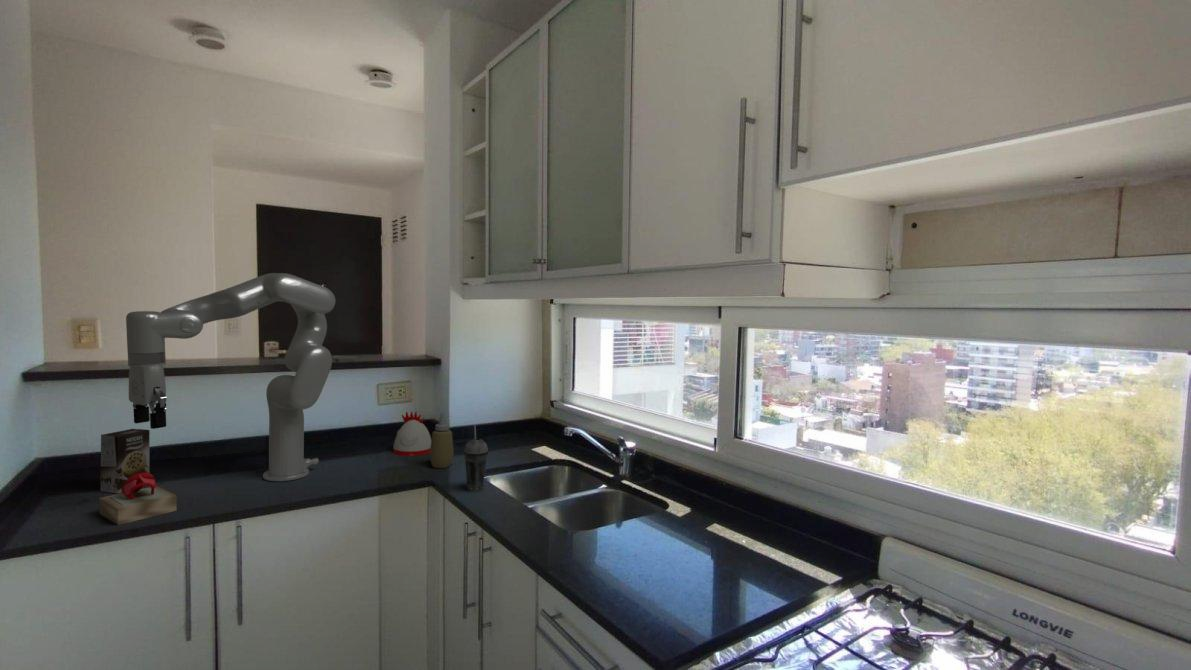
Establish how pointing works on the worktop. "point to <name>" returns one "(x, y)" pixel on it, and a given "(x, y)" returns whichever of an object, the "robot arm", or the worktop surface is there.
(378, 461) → the worktop surface
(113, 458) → the coffee box
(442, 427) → the squeeze bottle
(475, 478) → the beverage cup
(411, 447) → the kitchen timer
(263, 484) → the worktop surface
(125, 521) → the pedestal
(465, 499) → the worktop surface
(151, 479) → the red bell pepper
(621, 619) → the worktop surface
